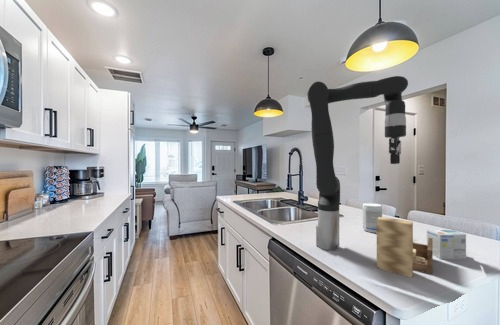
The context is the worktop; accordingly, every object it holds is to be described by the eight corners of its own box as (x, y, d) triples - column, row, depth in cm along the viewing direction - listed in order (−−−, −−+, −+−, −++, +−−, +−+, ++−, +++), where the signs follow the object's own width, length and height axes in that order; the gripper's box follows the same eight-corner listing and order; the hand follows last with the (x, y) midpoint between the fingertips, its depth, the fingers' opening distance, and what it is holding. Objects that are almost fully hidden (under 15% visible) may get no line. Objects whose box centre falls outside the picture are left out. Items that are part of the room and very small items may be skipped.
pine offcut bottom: (384, 259, 81) (384, 252, 81) (385, 256, 84) (385, 249, 84) (424, 270, 74) (424, 261, 74) (424, 266, 76) (424, 258, 76)
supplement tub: (386, 232, 116) (386, 205, 116) (372, 234, 113) (371, 206, 113) (372, 227, 125) (372, 202, 125) (358, 228, 123) (358, 203, 123)
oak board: (376, 269, 76) (376, 219, 76) (379, 264, 79) (379, 216, 79) (411, 279, 69) (411, 224, 69) (412, 273, 72) (412, 221, 72)
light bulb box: (450, 254, 89) (450, 228, 89) (467, 261, 82) (467, 234, 82) (425, 254, 88) (425, 228, 88) (440, 262, 82) (440, 234, 82)
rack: (377, 262, 82) (377, 239, 82) (384, 250, 93) (384, 229, 93) (432, 277, 71) (432, 250, 71) (432, 261, 82) (432, 238, 82)
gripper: (387, 128, 97) (387, 163, 98) (381, 124, 87) (381, 163, 87) (407, 126, 93) (407, 163, 93) (404, 122, 82) (404, 164, 82)
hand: (395, 163), depth 90 cm, fingers open, 8 cm apart
